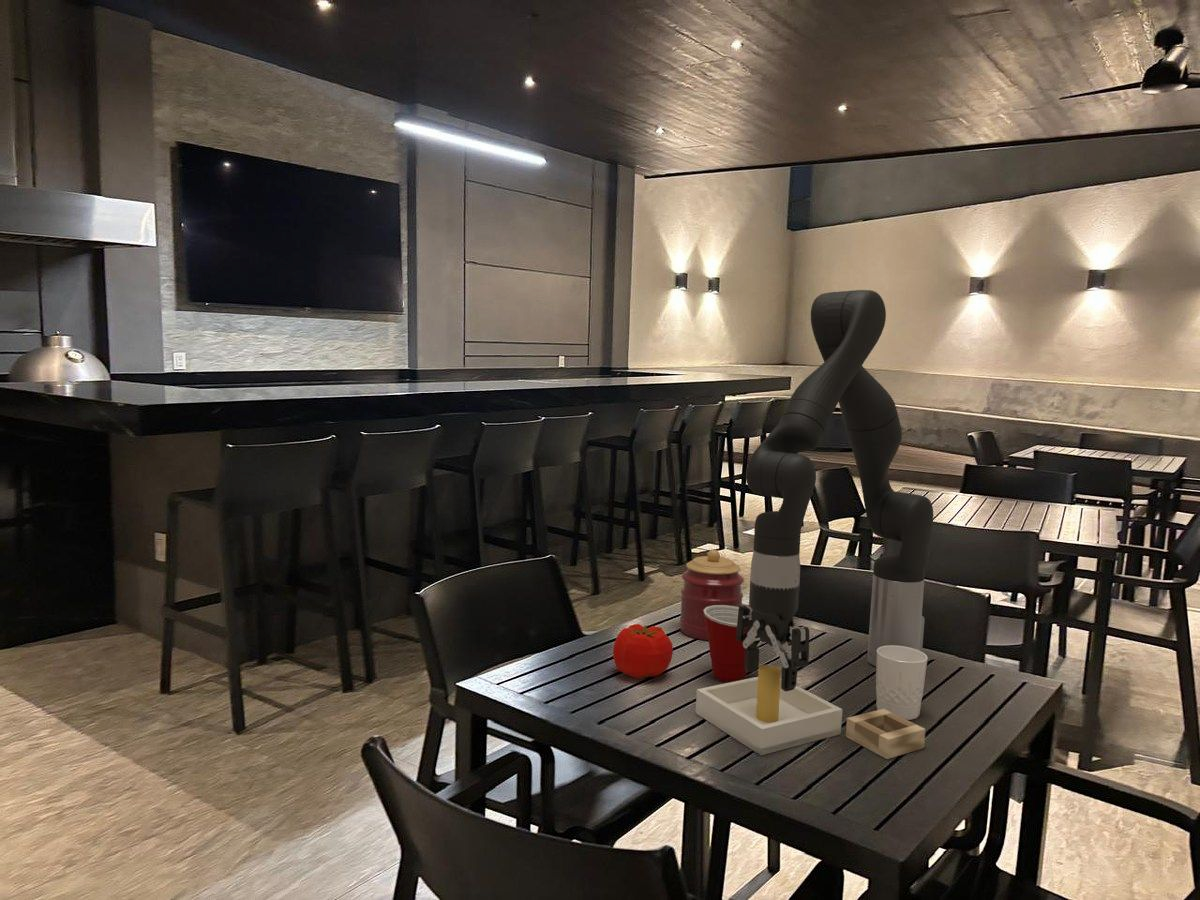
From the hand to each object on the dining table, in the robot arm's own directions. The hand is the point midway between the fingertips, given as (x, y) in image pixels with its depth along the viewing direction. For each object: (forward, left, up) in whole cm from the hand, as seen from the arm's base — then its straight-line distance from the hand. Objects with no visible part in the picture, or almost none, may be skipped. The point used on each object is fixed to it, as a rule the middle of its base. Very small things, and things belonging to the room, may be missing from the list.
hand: (769, 680), depth 130 cm
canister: (-19, -40, -7) cm, 45 cm away
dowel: (0, 0, -6) cm, 6 cm away
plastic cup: (-7, -18, -7) cm, 21 cm away
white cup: (-23, +6, -7) cm, 25 cm away
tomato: (+7, -26, -7) cm, 28 cm away
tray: (0, 0, -7) cm, 7 cm away
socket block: (-12, +13, -7) cm, 19 cm away
